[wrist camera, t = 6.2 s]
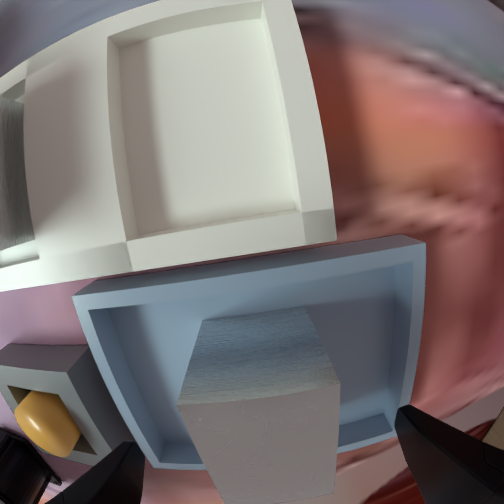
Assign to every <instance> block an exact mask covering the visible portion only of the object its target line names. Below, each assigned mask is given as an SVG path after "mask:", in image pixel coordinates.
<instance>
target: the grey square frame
mask: <svg viewBox="0 0 504 504" xmlns="http://www.w3.org/2000/svg"><path fill="white" fill-rule="evenodd" d="M31 390H35V391H41V392H47V393H54V394H59V396H60V398H61V399H62V401H63V403H64V405H65V406H66V408H67V410H68V412H69V413H70V415H71V416H72V418H73V420H74V421H75V423H76V424H77V426H78V428H79V429H80V431H81V432H82V434H81V435H80V437H79V439H78V441H77V442H76V444H75V446H74V448H73V449H72V451H71V453H70V455H69V456H68V457H59V456H56V455H53V454H51V453H49V452H47V451H45V450H44V449H42V448H41V447H39V446H38V445H37V444H36V443H34V444H35V445H36V446H37V448H38V449H39V450H40V451H41V452H43V453H46V454H49V455H53V456H56V457H59V458H63V459H66V460H70V461H74V462H78V463H82V464H86V465H91V466H95V465H96V464H97V463H98V462H99V461H101V460H102V459H103V458H104V457H105V456H107V455H108V454H109V453H110V452H111V451H113V450H114V449H115V448H116V447H117V446H118V445H120V444H121V443H122V442H123V441H126V440H127V441H135V442H136V443H137V441H136V440H135V438H134V436H133V435H132V433H131V431H130V430H129V428H128V426H127V424H126V423H125V421H124V419H123V417H122V415H121V414H120V412H119V410H118V408H117V406H116V404H115V402H114V400H113V398H112V396H111V394H110V392H109V390H108V388H107V386H106V384H105V382H104V380H103V377H102V375H101V373H100V371H99V368H98V366H97V364H96V362H95V359H94V357H93V354H92V352H91V349H90V347H89V345H25V344H8V345H6V346H5V347H4V348H3V349H1V350H0V392H1V394H2V395H3V397H4V399H5V400H6V402H7V404H8V405H9V407H10V409H11V410H12V412H13V413H14V411H15V409H16V407H17V406H18V405H19V404H20V403H21V402H22V401H23V399H24V398H25V397H26V396H27V395H28V394H29V393H30V392H31ZM14 415H15V413H14ZM137 444H138V443H137Z"/></svg>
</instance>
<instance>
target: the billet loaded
mask: <svg viewBox="0 0 504 504" xmlns="http://www.w3.org/2000/svg"><path fill="white" fill-rule="evenodd" d="M32 240H35V235H34V230H33V225H32V219H31V213H30V206H29V199H28V191H27V182H26V172H25V158H24V103H20V102H17V101H13V100H10V99H6V98H3V97H0V251H1V250H4V249H7V248H10V247H13V246H16V245H19V244H22V243H25V242H29V241H32Z"/></svg>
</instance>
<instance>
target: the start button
mask: <svg viewBox="0 0 504 504" xmlns="http://www.w3.org/2000/svg"><path fill="white" fill-rule="evenodd" d="M14 413H15V418H16V420H17V422H18V424H19V426H20V427H21V429H22V430H23V431H24V432H25V434H26V435H27V436H28V437H29V438H30V439H31V440H32V441H33V442H34V443H36V444H37V445H38V446H39V447H41V448H42V449H44V450H45V451H47V452H49V453H51V454H53V455H56V456H59V457H68V456H69V455H70V453H71V451H72V449H73V448H74V446H75V444H76V442H77V441H78V439H79V437H80V435H81V434H82V432H81V431H80V429H79V428H78V426H77V424H76V423H75V421H74V420H73V418H72V416H71V415H70V413H69V412H68V410H67V408H66V406H65V405H64V403H63V401H62V399H61V398H60V396H59V394H54V393H47V392H41V391H35V390H31V392H30V393H29V394H28V395H27V396H26V397H25V398H24V399H23V401H22V402H21V403H20V404H19V405H18V406H17V407H16V409H15V411H14Z"/></svg>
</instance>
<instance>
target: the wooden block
mask: <svg viewBox="0 0 504 504" xmlns="http://www.w3.org/2000/svg"><path fill="white" fill-rule="evenodd" d="M482 441H483V442H486V443H488V444H490V445H492V446H495V447H497V448H500V449H502V450H504V407H503V409H502V411H501V412H500V414H499V415H498V417H497V419H496V420H495V422H494V423H493V425H492V426H491V428H490V429H489V431H488V432H487V434H486V435H485V437H484V438H483V440H482Z"/></svg>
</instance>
